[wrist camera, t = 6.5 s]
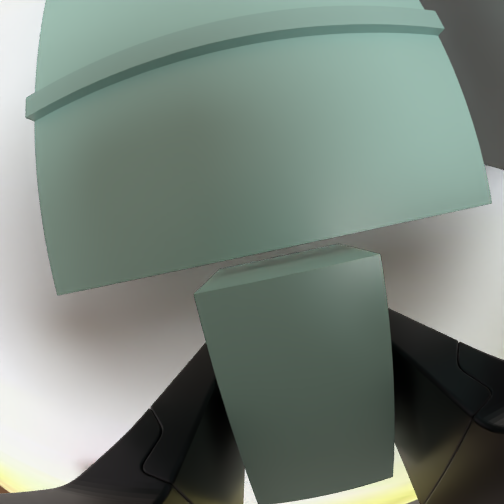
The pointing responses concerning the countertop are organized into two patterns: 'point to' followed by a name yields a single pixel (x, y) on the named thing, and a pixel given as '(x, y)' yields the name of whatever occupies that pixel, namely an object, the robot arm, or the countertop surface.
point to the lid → (257, 195)
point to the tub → (477, 65)
